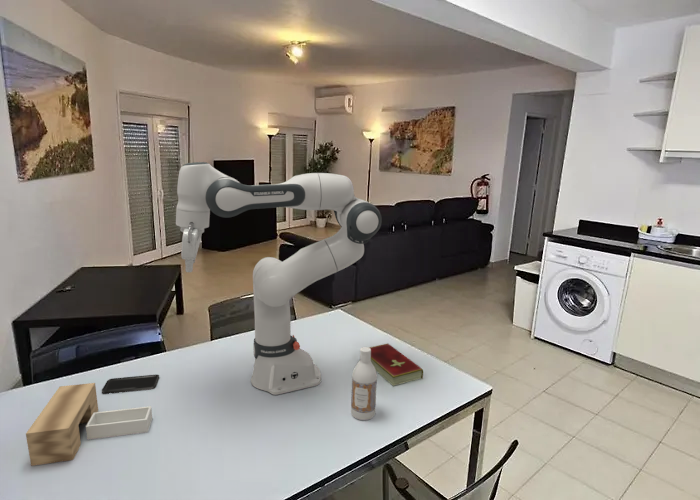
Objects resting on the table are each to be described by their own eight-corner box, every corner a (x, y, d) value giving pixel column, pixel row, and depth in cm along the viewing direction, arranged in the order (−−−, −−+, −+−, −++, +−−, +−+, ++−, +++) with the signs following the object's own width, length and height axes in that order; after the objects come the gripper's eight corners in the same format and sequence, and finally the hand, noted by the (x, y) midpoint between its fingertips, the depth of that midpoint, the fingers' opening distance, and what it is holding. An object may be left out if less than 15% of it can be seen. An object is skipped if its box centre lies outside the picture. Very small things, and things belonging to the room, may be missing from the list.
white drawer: (152, 419, 115) (151, 406, 114) (148, 433, 110) (146, 419, 109) (95, 425, 112) (93, 412, 111) (87, 440, 106) (85, 426, 105)
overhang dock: (98, 410, 118) (95, 382, 116) (73, 459, 99) (68, 428, 97) (63, 414, 116) (59, 386, 114) (31, 465, 97) (25, 433, 95)
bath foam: (347, 418, 118) (349, 352, 113) (354, 404, 124) (357, 341, 120) (371, 423, 116) (374, 356, 111) (377, 409, 122) (380, 345, 118)
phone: (108, 378, 132) (159, 374, 136) (108, 382, 133) (160, 377, 136) (100, 392, 125) (155, 387, 129) (100, 395, 125) (155, 390, 129)
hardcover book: (388, 352, 158) (388, 342, 157) (422, 379, 140) (423, 368, 139) (360, 359, 152) (360, 348, 151) (392, 388, 134) (393, 376, 133)
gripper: (202, 227, 110) (199, 278, 112) (206, 215, 129) (203, 259, 132) (176, 225, 108) (174, 277, 111) (184, 213, 127) (182, 257, 130)
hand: (190, 267), depth 121 cm, fingers open, 8 cm apart
